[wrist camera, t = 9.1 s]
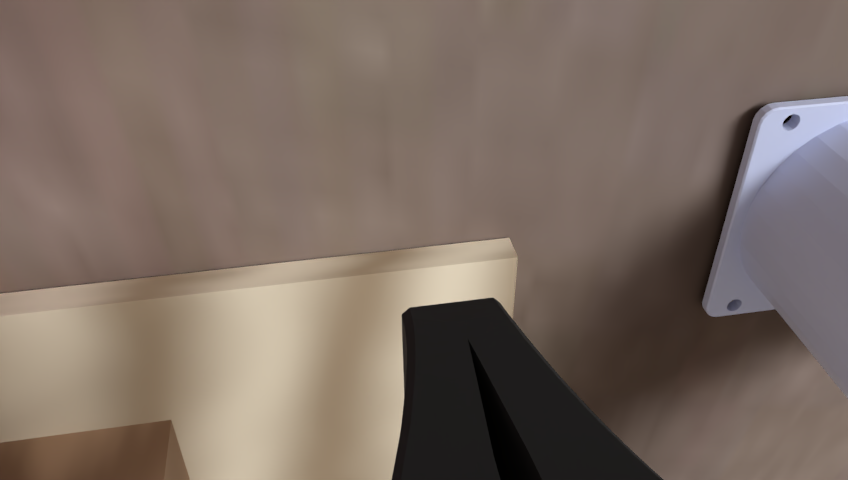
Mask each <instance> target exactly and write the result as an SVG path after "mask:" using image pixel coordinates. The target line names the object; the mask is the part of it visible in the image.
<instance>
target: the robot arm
mask: <svg viewBox="0 0 848 480" xmlns="http://www.w3.org/2000/svg"><path fill="white" fill-rule="evenodd" d="M790 115H792V117H791V119H790V120H789V121H788V122H786V123H784V124H783V122H784V120H785V119H786V118H787V117H788V116H790ZM732 300H733V301H732ZM731 301H732V302H731ZM702 307H703V308H704V310H705V311H706V313H707V314H708V315H709V316H711V317H719V316H727V315H735V314H743V313H751V312H758V311H766V310H774V309H776V311H777V312H778V313H779V314H780V316H781V317H782V318H783V319H784V321H785V322H786V323H787V324H788V325H789V327H790V328H791V329H792V330H793V332H794V333H795V334H796V335H797V337H798V338H799V339H800V340H801V342H802V343H803V344H804V345H805V346H806V348H807V349H808V350H809V351H810V353H811V354H812V355H813V356H814V358H815V359H816V360H817V361H818V363H819V364H820V365H821V366H822V367H823V369H824V370H825V371H826V372H827V374H828V375H829V376H830V377H831V379H832V380H833V381H834V382H835V384H836V385H837V386H838V387H839V388H840V390H841V391H842V392H843V393H844V395H845V396H846V397H847V398H848V96H843V97H832V98H821V99H810V100H798V101H787V102H776V103H771V104H767V105H765V106H764V107H762V108H761V109H760V110H759V111H758V112H757V113H756V115H755V117H754V119H753V121H752V125H751V129H750V132H749V136H748V139H747V143H746V147H745V150H744V154H743V157H742V161H741V165H740V168H739V172H738V175H737V179H736V183H735V186H734V190H733V193H732V197H731V201H730V204H729V208H728V211H727V215H726V219H725V222H724V226H723V229H722V233H721V237H720V240H719V244H718V247H717V251H716V255H715V258H714V262H713V265H712V269H711V273H710V276H709V280H708V283H707V287H706V291H705V294H704V298H703V301H702ZM402 343H403V372H404V406H403V415H402V424H401V431H400V437H399V443H398V448H397V454H396V459H395V464H394V470H393V475H392V480H663V479H662V478H661V477H660V476H659V475H658V474H656V473H655V472H654V471H653V470H652V469H651V468H650V467H649V466H648V465H647V464H645V463H644V462H643V461H642V460H641V459H640V458H639V457H638V456H637V455H636V454H635V453H634V452H633V451H632V450H631V449H629V448H628V447H627V446H626V445H625V444H624V443H623V442H622V441H621V440H620V439H619V438H618V437H617V436H616V435H615V434H614V433H613V432H612V431H611V430H610V429H609V428H608V427H607V426H606V425H605V424H604V423H603V422H602V421H601V420H600V419H599V418H598V417H597V416H596V415H595V414H594V413H593V412H592V411H591V410H590V409H589V407H588V406H587V405H586V404H585V403H584V402H583V401H582V400H581V399H580V398H579V397H578V396H577V394H576V393H575V392H574V391H573V390H572V389H571V388H570V387H569V386H568V385H567V384H566V383H565V381H564V380H563V379H562V378H561V377H560V376H559V375H558V374H557V372H556V371H555V370H554V369H553V368H552V367H551V366H550V364H549V363H548V362H547V361H546V360H545V359H544V357H543V356H542V355H541V354H540V353H539V351H538V350H537V349H536V348H535V347H534V345H533V344H532V343H531V342H530V341H529V339H528V338H527V337H526V336H525V334H524V333H523V332H522V331H521V329H520V328H519V327H518V326H517V324H516V323H515V322H514V320H513V319H512V318H511V317H510V315H509V314H508V313H507V311H506V310H505V309H504V307H503V306H502V305H501V303H500V302H498V301H497V300H496V299H495V298H485V299H476V300H468V301H460V302H451V303H443V304H435V305H426V306H418V307H410V308H408V309H407V310H406V311H405V312H404V313H403V314H402Z"/></svg>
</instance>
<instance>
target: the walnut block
mask: <svg viewBox="0 0 848 480" xmlns="http://www.w3.org/2000/svg"><path fill="white" fill-rule="evenodd" d="M0 480H190V478H189V475H188V472H187V469H186V466H185V462H184V459H183V456H182V453H181V449H180V446H179V443H178V440H177V437H176V433H175V430H174V427H173V424H172V421H171V420H166V421H158V422H151V423H143V424H136V425H129V426H121V427H114V428H106V429H99V430H91V431H84V432H76V433H69V434H61V435H54V436H46V437H39V438H32V439H24V440H17V441H9V442H2V443H0Z"/></svg>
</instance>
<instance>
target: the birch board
mask: <svg viewBox="0 0 848 480" xmlns="http://www.w3.org/2000/svg"><path fill="white" fill-rule="evenodd" d="M517 261H518V257H517V254H516V252H515V250H514V248H513V245H512V243H511V241H510V239H509V238H502V239H493V240H484V241H475V242H466V243H457V244H448V245H439V246H429V247H420V248H411V249H402V250H393V251H384V252H375V253H366V254H357V255H348V256H338V257H329V258H320V259H311V260H302V261H293V262H284V263H275V264H266V265H257V266H248V267H238V268H229V269H220V270H211V271H202V272H193V273H184V274H175V275H166V276H157V277H147V278H138V279H129V280H120V281H111V282H102V283H93V284H84V285H75V286H66V287H56V288H47V289H38V290H29V291H20V292H11V293H2V294H0V443H2V442H9V441H17V440H24V439H32V438H39V437H46V436H54V435H61V434H69V433H76V432H84V431H91V430H99V429H106V428H114V427H121V426H129V425H136V424H143V423H151V422H158V421H166V420H171V421H172V424H173V427H174V430H175V433H176V437H177V440H178V443H179V446H180V449H181V453H182V456H183V459H184V462H185V466H186V469H187V472H188V475H189V478H190V480H392V475H393V470H394V464H395V459H396V454H397V448H398V443H399V437H400V431H401V424H402V415H403V406H404V372H403V343H402V314H403V313H404V312H405V311H406V310H407V309H408V308H410V307H418V306H426V305H435V304H443V303H451V302H460V301H468V300H476V299H485V298H495V299H496V300H497V301H498V302H500V303H501V305H502V306H503V307H504V309H505V310H506V311H507V313H508V314H509V315H510V317H511V318H512V319H513V309H514V297H515V285H516V273H517Z"/></svg>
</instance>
